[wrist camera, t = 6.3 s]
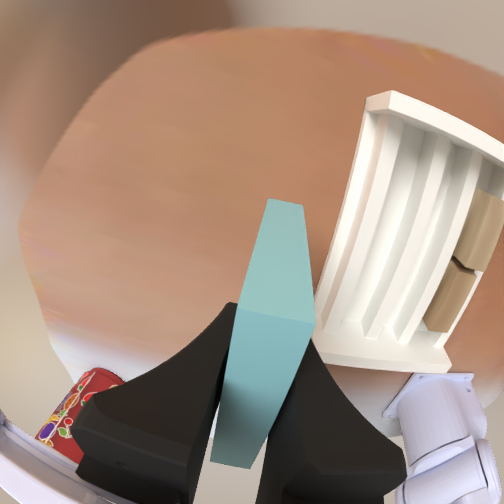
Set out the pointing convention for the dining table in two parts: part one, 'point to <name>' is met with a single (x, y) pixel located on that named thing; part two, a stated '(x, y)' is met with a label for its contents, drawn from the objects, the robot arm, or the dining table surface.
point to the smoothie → (74, 413)
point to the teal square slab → (266, 335)
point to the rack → (400, 234)
